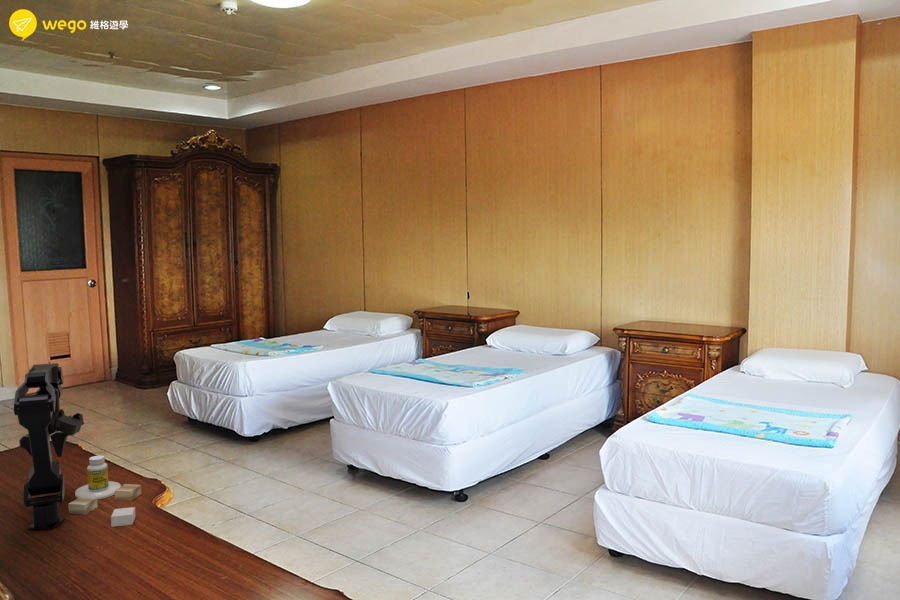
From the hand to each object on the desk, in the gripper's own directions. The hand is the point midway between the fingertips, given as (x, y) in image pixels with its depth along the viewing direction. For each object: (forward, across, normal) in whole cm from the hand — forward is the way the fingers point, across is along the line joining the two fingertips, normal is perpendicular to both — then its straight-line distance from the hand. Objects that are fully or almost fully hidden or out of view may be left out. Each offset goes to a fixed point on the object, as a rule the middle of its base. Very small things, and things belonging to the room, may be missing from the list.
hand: (50, 462), depth 190 cm
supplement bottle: (+11, +8, -9) cm, 16 cm away
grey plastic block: (+12, -13, -25) cm, 31 cm away
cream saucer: (+12, +8, -9) cm, 17 cm away
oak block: (+12, +4, -19) cm, 23 cm away
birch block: (+12, -5, -11) cm, 17 cm away
